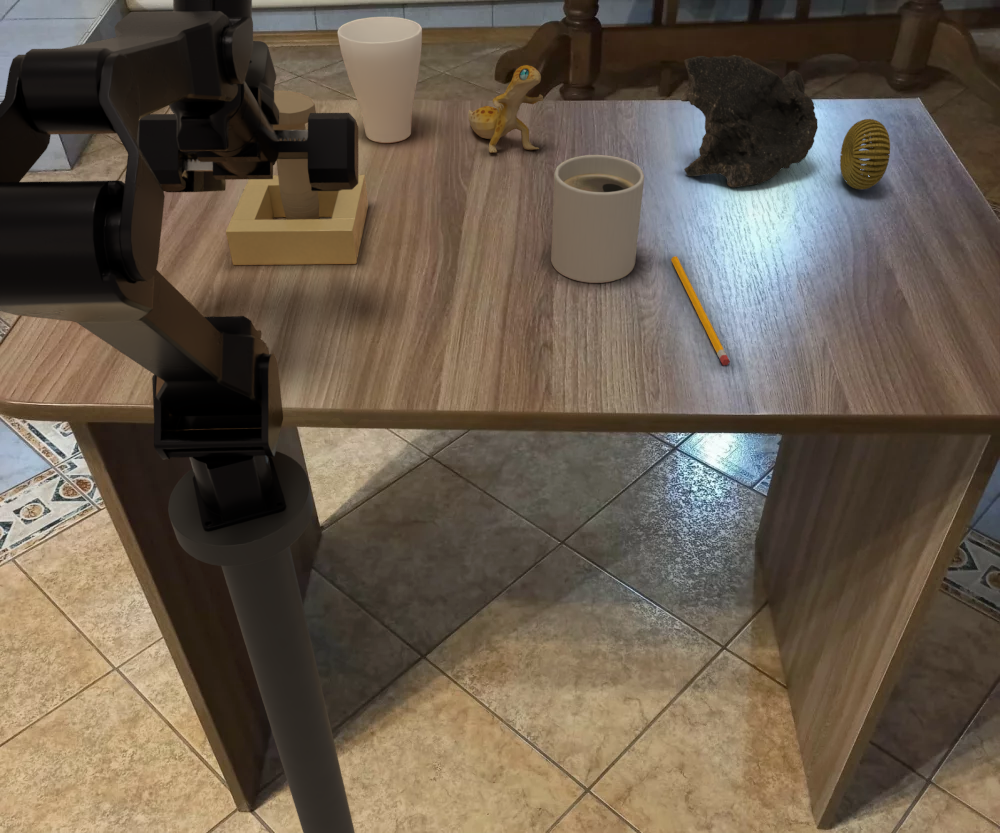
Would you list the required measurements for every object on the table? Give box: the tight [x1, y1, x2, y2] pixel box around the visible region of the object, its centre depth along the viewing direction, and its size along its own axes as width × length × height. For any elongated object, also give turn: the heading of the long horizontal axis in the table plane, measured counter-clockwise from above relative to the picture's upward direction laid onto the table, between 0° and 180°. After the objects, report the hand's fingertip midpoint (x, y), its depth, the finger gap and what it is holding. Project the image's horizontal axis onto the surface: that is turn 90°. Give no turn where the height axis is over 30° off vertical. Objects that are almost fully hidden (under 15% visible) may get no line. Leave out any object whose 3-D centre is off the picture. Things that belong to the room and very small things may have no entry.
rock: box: [680, 54, 819, 188], centre depth 111 cm, size 17×12×15 cm
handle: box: [273, 90, 320, 220], centre depth 95 cm, size 5×6×15 cm
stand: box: [225, 174, 369, 266], centre depth 99 cm, size 13×13×4 cm
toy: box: [467, 64, 544, 154], centre depth 116 cm, size 7×15×10 cm, turn 44°
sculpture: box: [839, 118, 891, 190], centre depth 106 cm, size 8×4×8 cm, turn 179°
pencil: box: [670, 256, 731, 366], centre depth 88 cm, size 1×18×1 cm, turn 6°
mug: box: [550, 154, 645, 284], centre depth 93 cm, size 11×10×10 cm
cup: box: [336, 16, 423, 144], centre depth 116 cm, size 10×10×14 cm
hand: (271, 184), depth 86 cm, fingers open, 9 cm apart
